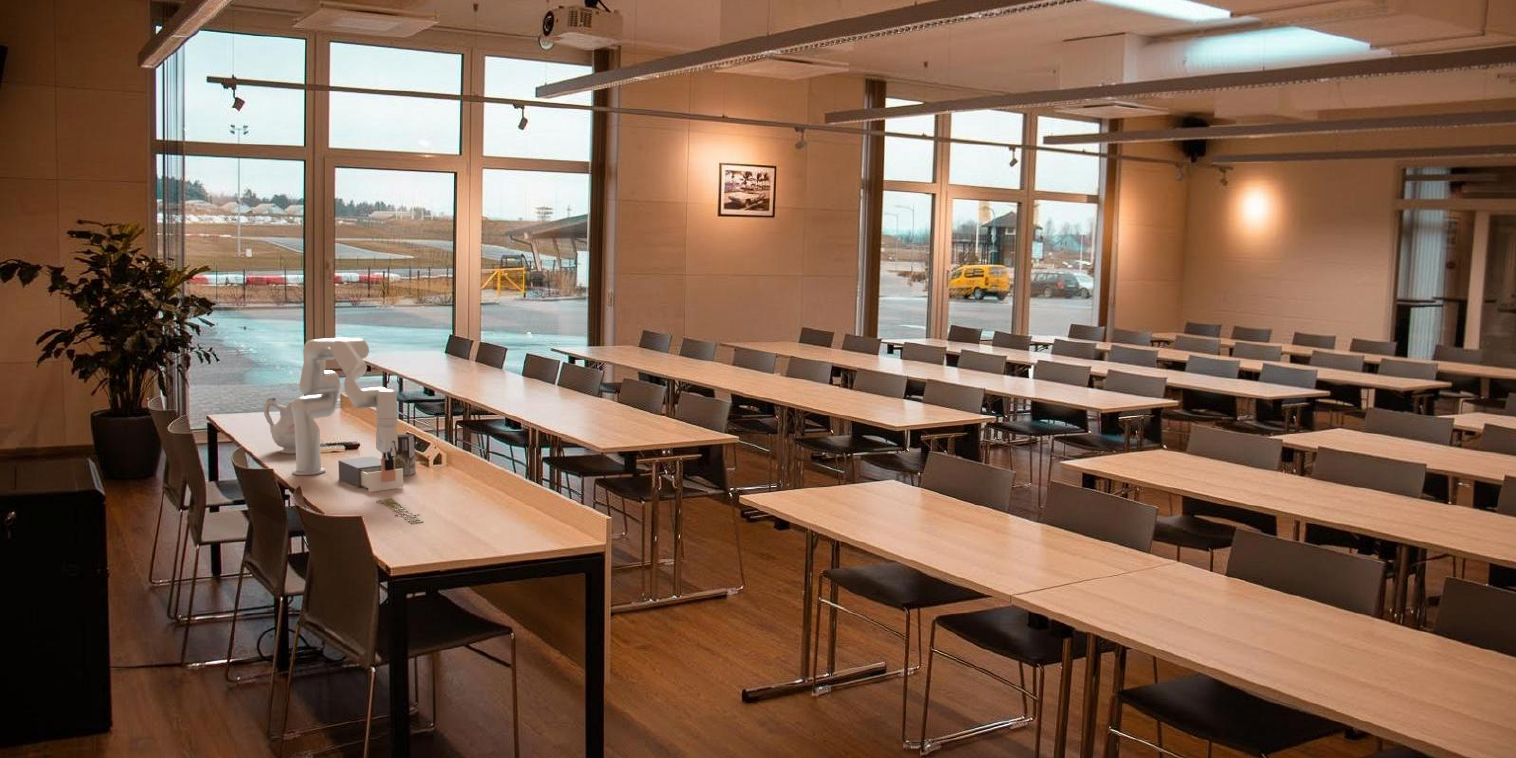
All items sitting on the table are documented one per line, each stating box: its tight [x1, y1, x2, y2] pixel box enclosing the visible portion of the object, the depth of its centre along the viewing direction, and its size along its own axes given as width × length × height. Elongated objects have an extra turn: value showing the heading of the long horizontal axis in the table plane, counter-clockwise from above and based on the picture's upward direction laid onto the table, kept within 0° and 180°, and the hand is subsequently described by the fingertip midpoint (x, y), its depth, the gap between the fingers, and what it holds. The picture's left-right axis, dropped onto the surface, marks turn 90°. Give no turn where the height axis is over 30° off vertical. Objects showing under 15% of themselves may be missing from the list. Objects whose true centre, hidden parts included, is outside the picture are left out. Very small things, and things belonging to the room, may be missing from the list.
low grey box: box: [337, 455, 382, 489], centre depth 475 cm, size 19×14×8 cm
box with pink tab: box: [360, 457, 404, 493], centre depth 466 cm, size 21×14×13 cm, turn 41°
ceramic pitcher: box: [263, 397, 296, 455], centre depth 534 cm, size 22×20×25 cm
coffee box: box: [394, 433, 417, 476], centre depth 490 cm, size 9×6×16 cm
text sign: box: [375, 498, 425, 524], centre depth 428 cm, size 40×1×8 cm
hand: (388, 469), depth 458 cm, fingers closed
